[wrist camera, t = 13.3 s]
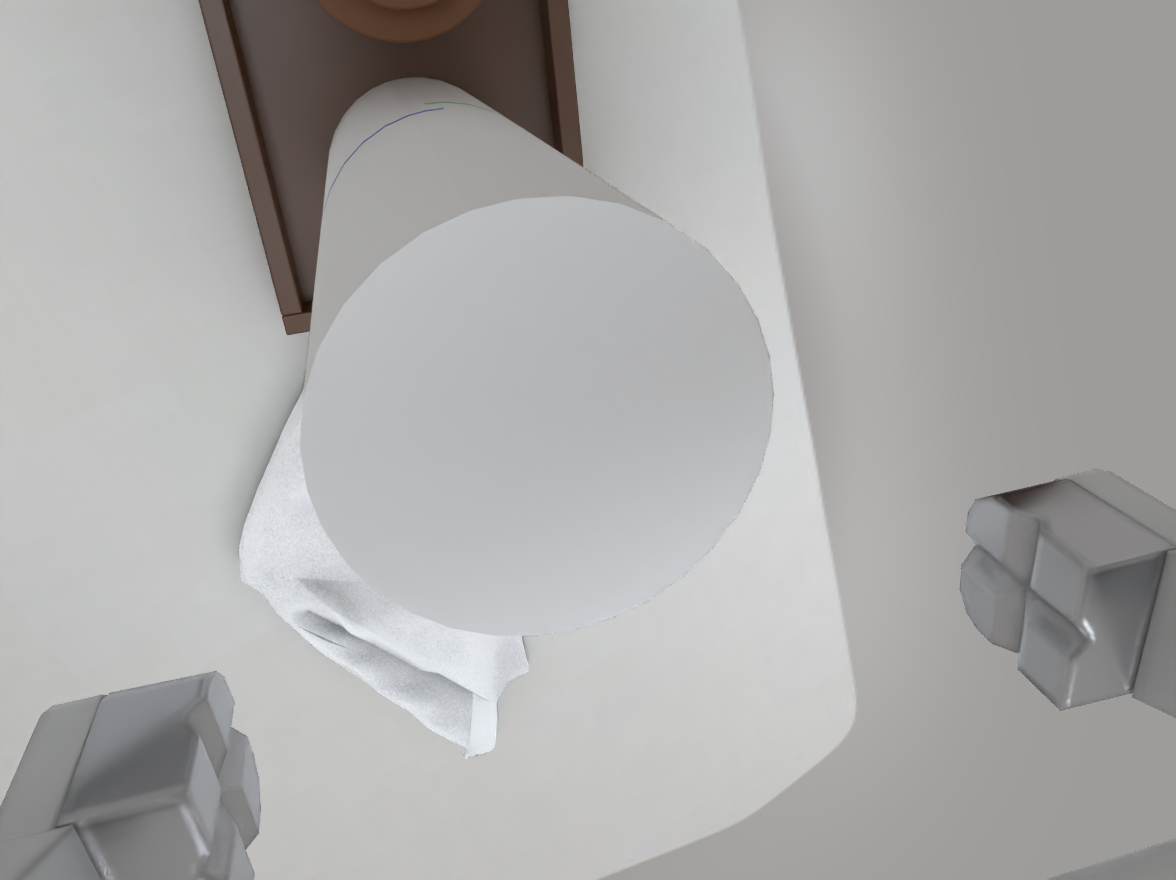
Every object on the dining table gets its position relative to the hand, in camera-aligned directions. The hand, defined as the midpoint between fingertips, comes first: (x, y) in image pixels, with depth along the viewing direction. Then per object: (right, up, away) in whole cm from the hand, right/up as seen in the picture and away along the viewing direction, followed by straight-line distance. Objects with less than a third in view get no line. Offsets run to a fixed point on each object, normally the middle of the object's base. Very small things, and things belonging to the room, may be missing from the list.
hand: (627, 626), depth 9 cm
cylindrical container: (-7, +13, +26) cm, 30 cm away
